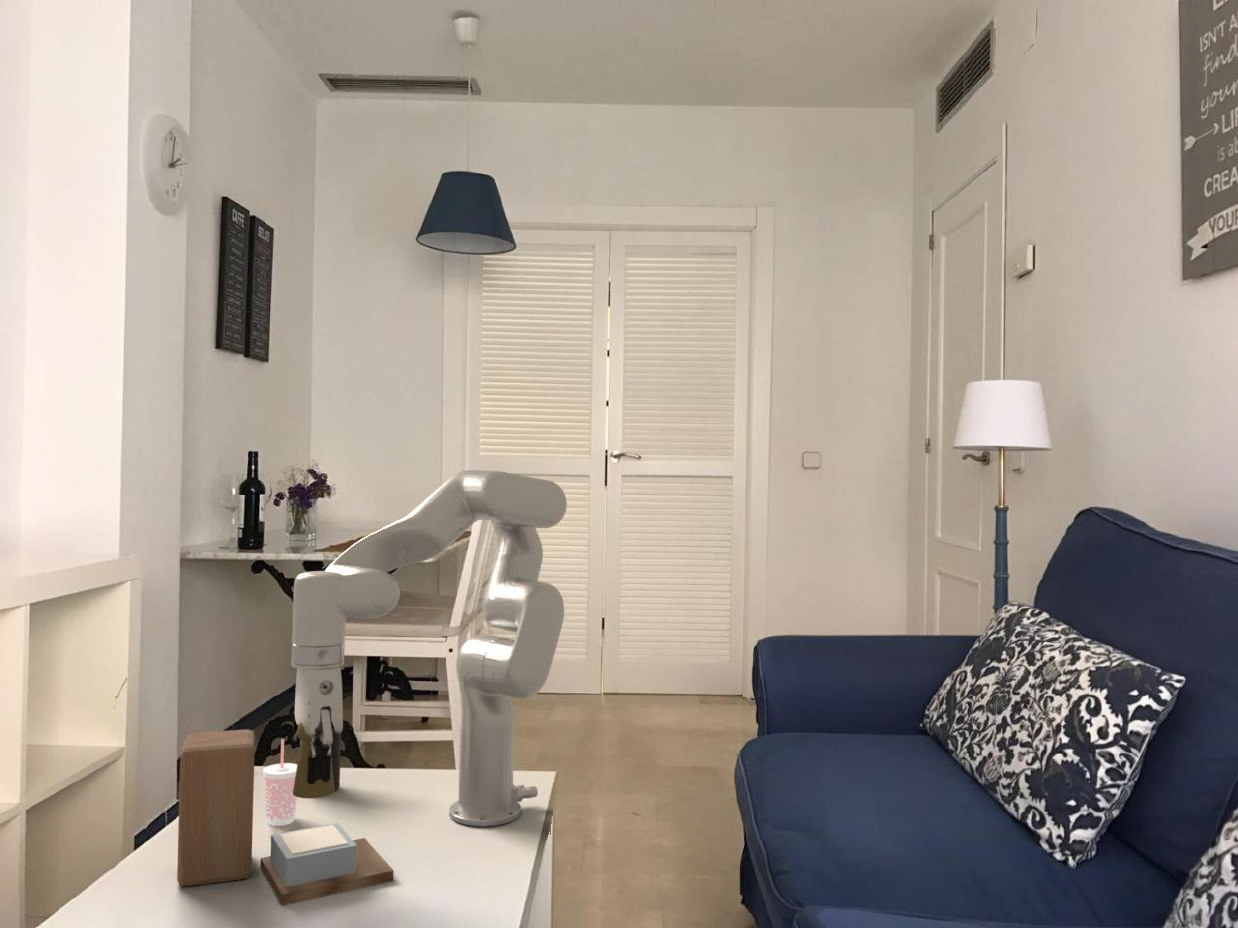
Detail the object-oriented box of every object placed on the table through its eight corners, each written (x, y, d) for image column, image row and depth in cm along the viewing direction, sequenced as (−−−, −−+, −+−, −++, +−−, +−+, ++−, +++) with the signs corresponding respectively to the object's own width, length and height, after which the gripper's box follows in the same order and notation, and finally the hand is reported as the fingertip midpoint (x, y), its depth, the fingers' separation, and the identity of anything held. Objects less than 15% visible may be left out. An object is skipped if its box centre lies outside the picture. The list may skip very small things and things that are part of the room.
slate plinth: (337, 848, 148) (337, 821, 148) (356, 872, 139) (356, 843, 139) (270, 861, 142) (271, 833, 142) (286, 886, 134) (286, 857, 134)
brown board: (364, 847, 152) (364, 837, 152) (393, 880, 140) (393, 870, 140) (260, 867, 143) (260, 857, 143) (281, 904, 132) (282, 894, 132)
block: (182, 862, 145) (185, 731, 145) (251, 854, 148) (255, 726, 148) (176, 889, 135) (180, 750, 136) (251, 880, 139) (254, 744, 139)
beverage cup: (256, 819, 163) (258, 738, 163) (290, 811, 167) (292, 732, 167) (269, 830, 158) (272, 746, 158) (305, 821, 162) (307, 740, 162)
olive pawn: (321, 800, 137) (324, 724, 137) (284, 795, 138) (286, 721, 139) (342, 786, 143) (344, 714, 143) (306, 782, 144) (308, 711, 144)
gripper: (360, 662, 136) (356, 790, 136) (328, 643, 150) (324, 759, 150) (306, 667, 132) (302, 798, 132) (279, 647, 146) (275, 765, 146)
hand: (314, 776), depth 141 cm, fingers closed on olive pawn, 3 cm apart
